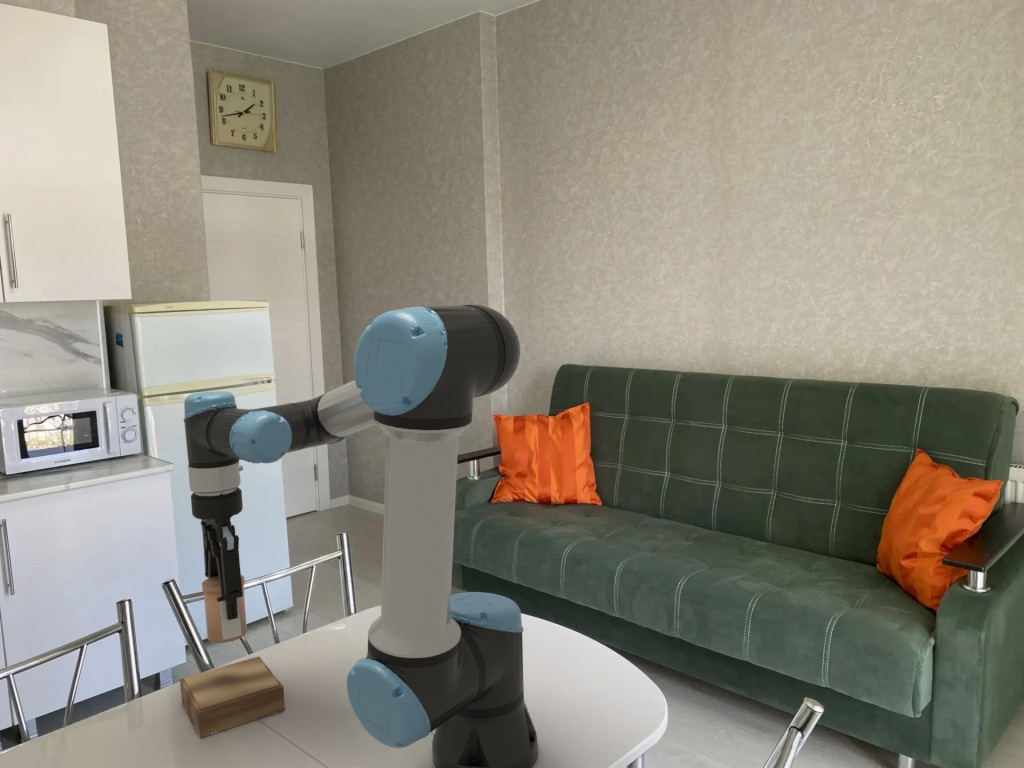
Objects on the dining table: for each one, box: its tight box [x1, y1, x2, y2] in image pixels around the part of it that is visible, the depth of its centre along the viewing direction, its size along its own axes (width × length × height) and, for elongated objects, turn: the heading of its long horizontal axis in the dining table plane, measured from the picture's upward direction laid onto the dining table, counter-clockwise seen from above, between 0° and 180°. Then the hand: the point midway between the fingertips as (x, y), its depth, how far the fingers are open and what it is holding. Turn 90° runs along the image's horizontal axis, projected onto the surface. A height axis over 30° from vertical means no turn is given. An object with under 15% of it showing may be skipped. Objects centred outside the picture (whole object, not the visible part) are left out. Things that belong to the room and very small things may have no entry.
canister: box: [201, 574, 248, 644], centre depth 124 cm, size 6×6×9 cm
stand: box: [179, 656, 286, 738], centre depth 126 cm, size 13×13×4 cm
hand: (226, 629), depth 125 cm, fingers closed on canister, 6 cm apart
